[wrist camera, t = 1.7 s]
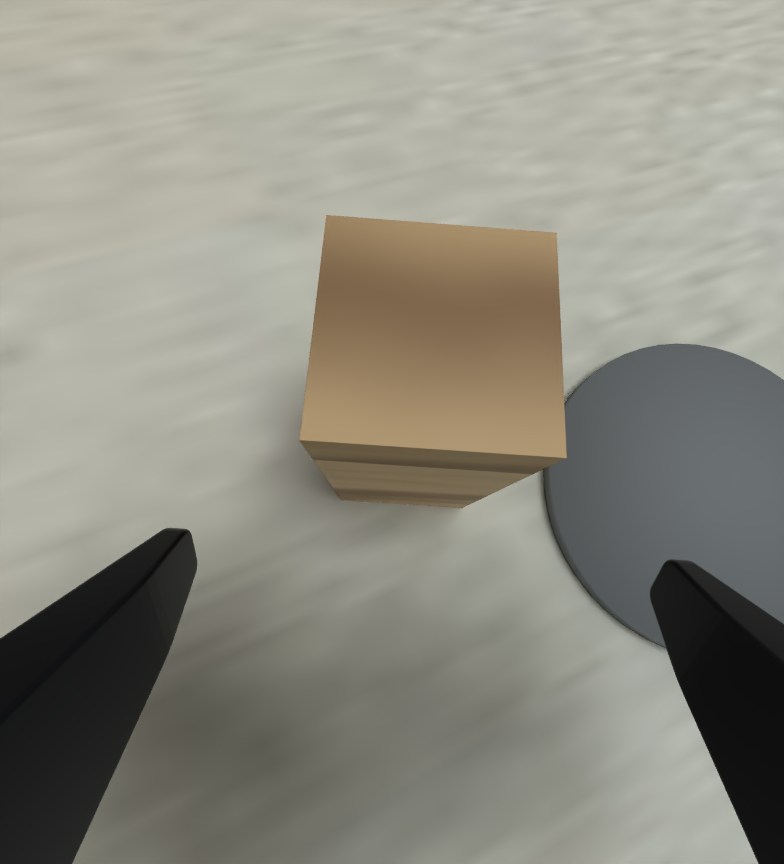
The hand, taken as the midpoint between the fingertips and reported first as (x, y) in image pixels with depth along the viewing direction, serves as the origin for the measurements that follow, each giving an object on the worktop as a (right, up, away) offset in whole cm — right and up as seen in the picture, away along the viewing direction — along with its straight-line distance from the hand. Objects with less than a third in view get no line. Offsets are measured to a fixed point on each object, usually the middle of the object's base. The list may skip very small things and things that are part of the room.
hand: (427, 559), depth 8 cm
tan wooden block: (0, +2, +12) cm, 12 cm away
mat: (+13, 0, +12) cm, 18 cm away
